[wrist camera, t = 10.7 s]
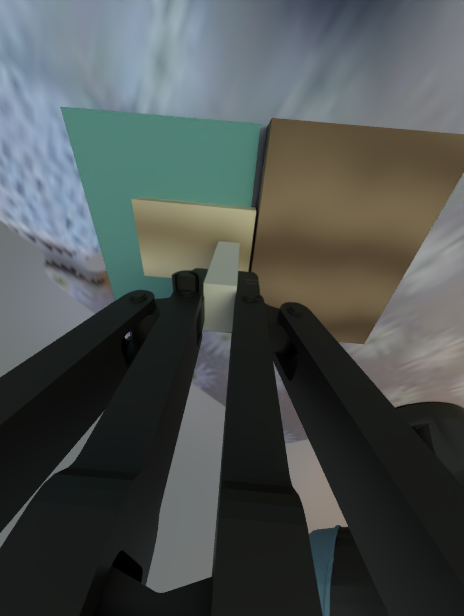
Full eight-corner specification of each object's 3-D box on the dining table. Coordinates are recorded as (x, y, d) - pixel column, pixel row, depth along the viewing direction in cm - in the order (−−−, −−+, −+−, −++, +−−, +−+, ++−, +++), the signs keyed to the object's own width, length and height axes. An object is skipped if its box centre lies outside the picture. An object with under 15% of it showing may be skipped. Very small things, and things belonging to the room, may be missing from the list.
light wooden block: (246, 277, 20) (246, 284, 18) (150, 268, 20) (144, 275, 18) (255, 207, 16) (256, 210, 15) (139, 196, 16) (131, 199, 15)
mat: (238, 318, 23) (238, 320, 22) (119, 308, 23) (118, 310, 22) (260, 125, 14) (260, 123, 14) (64, 108, 14) (60, 106, 14)
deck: (353, 327, 23) (364, 343, 21) (243, 318, 23) (243, 333, 21) (448, 141, 14) (484, 136, 12) (267, 125, 14) (271, 118, 12)
